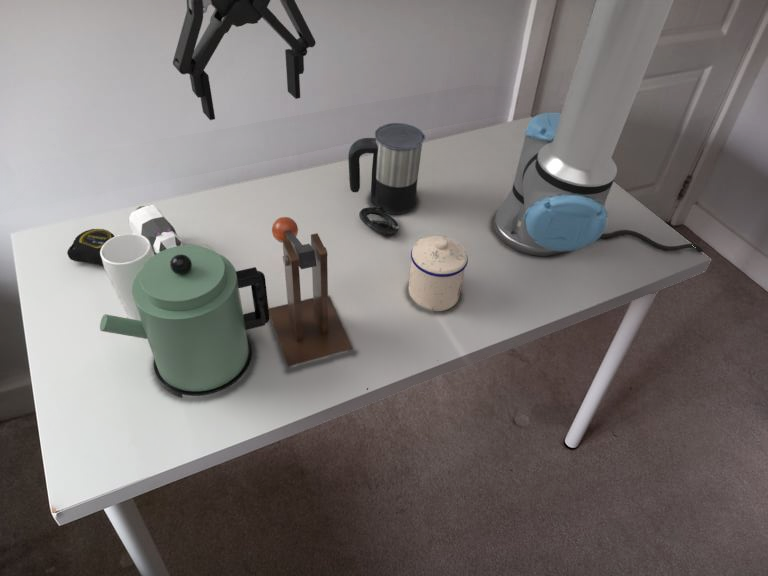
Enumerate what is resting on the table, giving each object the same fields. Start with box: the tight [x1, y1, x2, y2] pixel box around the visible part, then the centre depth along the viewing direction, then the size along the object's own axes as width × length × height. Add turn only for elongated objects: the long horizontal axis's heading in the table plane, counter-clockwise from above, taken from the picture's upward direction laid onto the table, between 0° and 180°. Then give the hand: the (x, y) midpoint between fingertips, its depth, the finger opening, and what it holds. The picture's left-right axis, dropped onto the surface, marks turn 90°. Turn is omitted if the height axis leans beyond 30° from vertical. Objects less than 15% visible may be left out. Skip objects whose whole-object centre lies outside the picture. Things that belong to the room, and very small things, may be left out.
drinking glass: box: [100, 232, 154, 321], centre depth 88 cm, size 7×7×15 cm
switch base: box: [269, 232, 353, 367], centre depth 87 cm, size 12×10×18 cm
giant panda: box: [128, 204, 183, 255], centre depth 99 cm, size 15×6×10 cm, turn 38°
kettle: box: [99, 244, 271, 399], centre depth 81 cm, size 22×14×20 cm, turn 112°
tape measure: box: [66, 228, 115, 267], centre depth 101 cm, size 7×7×4 cm
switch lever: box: [271, 216, 317, 270], centre depth 87 cm, size 15×4×4 cm, turn 22°
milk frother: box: [347, 122, 427, 237], centre depth 111 cm, size 14×16×15 cm
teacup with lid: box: [407, 235, 469, 312], centre depth 97 cm, size 12×9×12 cm
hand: (252, 105), depth 88 cm, fingers open, 13 cm apart
